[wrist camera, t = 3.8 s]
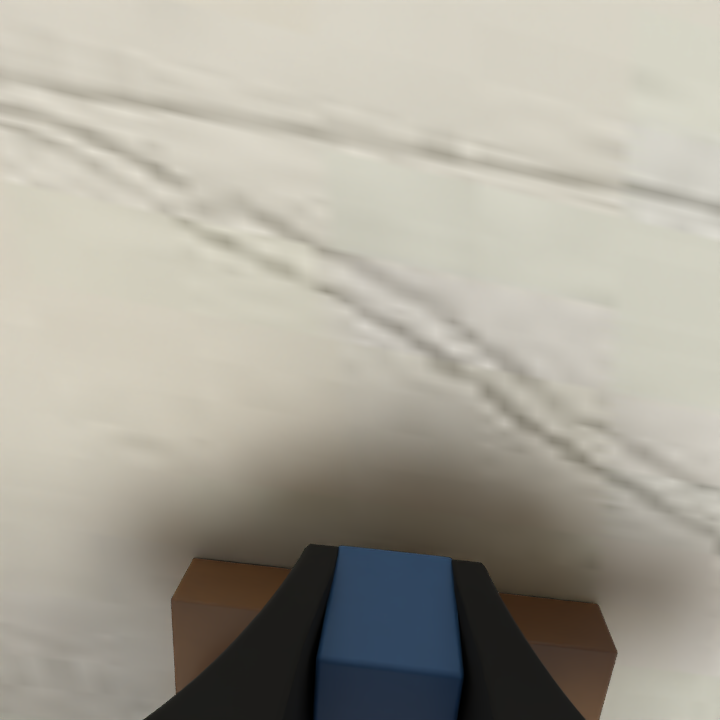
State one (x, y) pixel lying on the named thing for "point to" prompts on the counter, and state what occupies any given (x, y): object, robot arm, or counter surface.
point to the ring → (389, 639)
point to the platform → (259, 583)
